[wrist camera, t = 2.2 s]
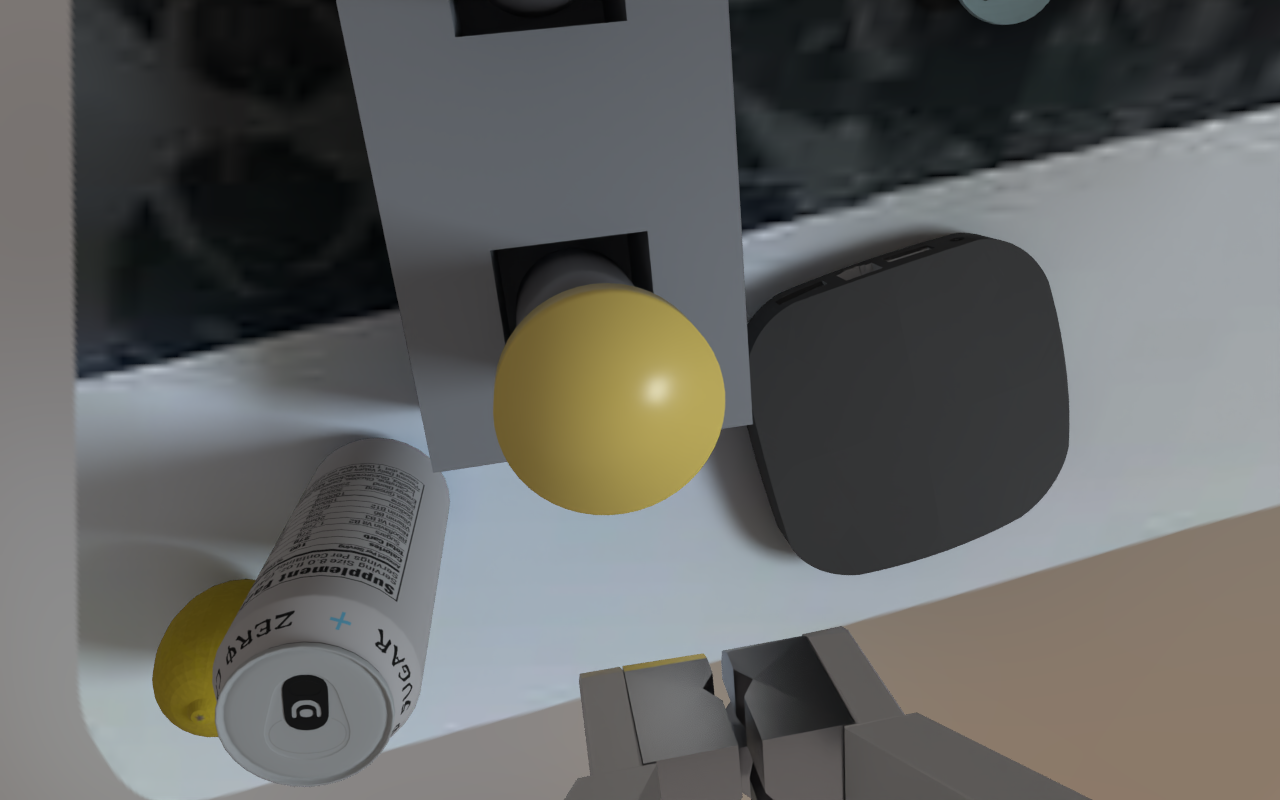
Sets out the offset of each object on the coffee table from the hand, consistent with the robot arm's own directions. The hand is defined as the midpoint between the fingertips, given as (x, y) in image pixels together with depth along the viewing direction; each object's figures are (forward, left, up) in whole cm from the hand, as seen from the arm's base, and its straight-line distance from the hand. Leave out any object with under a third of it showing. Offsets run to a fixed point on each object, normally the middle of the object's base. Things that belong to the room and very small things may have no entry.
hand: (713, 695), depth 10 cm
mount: (0, -6, -27) cm, 28 cm away
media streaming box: (-15, +8, -28) cm, 33 cm away
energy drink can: (+10, +9, -27) cm, 30 cm away
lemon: (+16, +13, -27) cm, 34 cm away
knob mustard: (0, 0, -22) cm, 22 cm away
